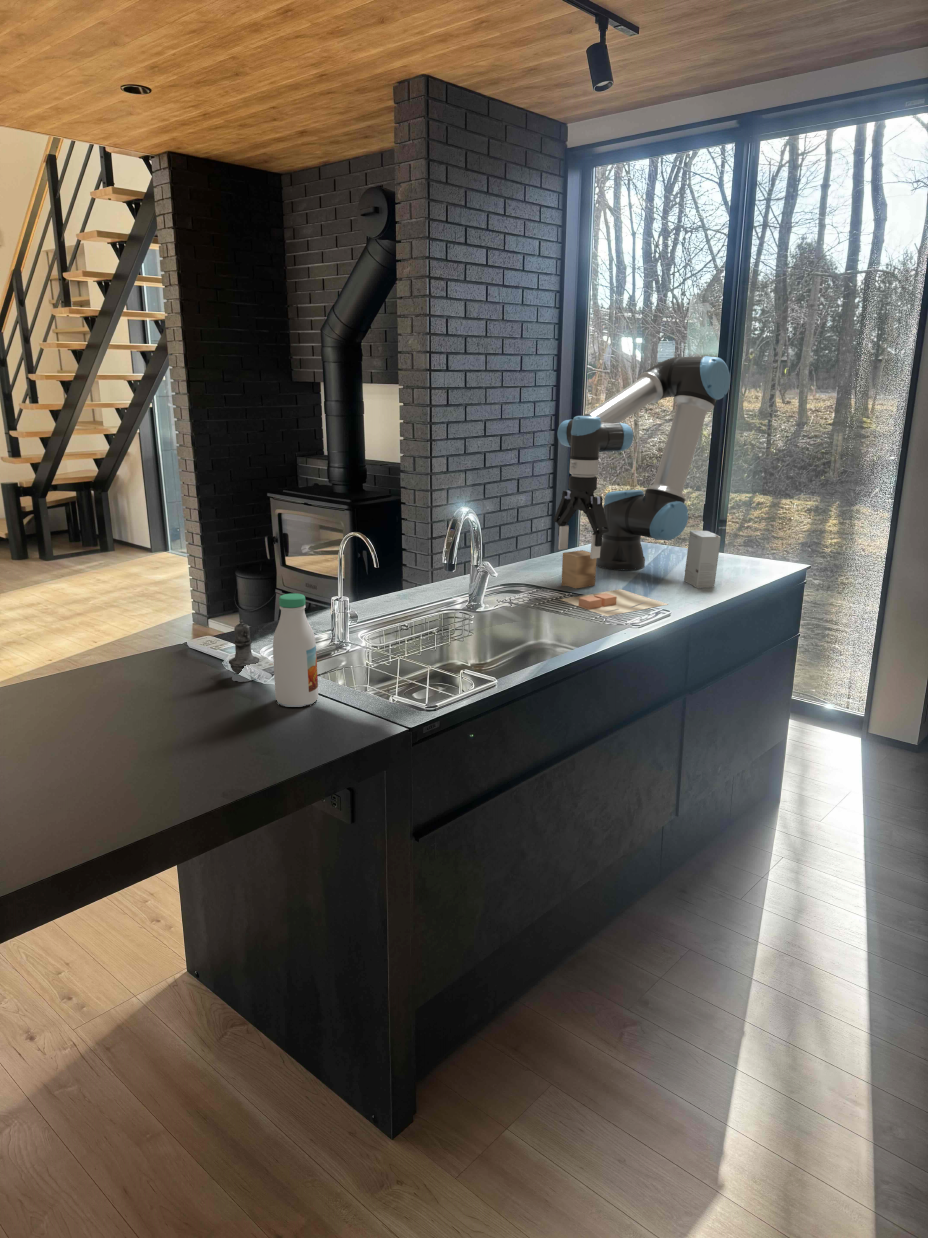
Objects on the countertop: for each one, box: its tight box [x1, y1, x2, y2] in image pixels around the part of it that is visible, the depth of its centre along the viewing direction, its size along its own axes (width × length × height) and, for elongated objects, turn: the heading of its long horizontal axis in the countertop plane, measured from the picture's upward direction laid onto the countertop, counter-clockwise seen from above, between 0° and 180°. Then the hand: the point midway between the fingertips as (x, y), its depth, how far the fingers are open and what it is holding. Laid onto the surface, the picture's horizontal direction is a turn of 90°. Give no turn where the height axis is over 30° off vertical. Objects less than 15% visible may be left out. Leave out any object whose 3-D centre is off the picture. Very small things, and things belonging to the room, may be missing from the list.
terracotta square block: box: [594, 593, 617, 606], centre depth 221 cm, size 4×4×2 cm
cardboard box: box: [560, 549, 597, 589], centre depth 239 cm, size 7×6×10 cm
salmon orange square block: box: [578, 596, 602, 610], centre depth 218 cm, size 4×4×2 cm
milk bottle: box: [272, 592, 319, 705], centre depth 156 cm, size 8×8×20 cm
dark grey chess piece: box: [228, 619, 260, 674], centre depth 169 cm, size 6×6×12 cm
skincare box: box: [683, 530, 722, 589], centre depth 244 cm, size 8×6×15 cm
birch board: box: [559, 588, 670, 617], centre depth 223 cm, size 21×18×1 cm
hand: (578, 553), depth 237 cm, fingers open, 13 cm apart
